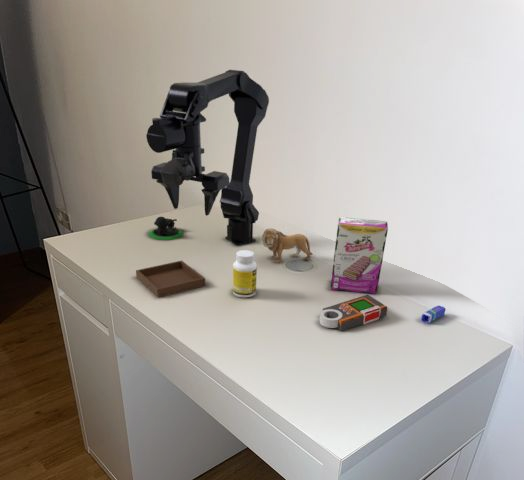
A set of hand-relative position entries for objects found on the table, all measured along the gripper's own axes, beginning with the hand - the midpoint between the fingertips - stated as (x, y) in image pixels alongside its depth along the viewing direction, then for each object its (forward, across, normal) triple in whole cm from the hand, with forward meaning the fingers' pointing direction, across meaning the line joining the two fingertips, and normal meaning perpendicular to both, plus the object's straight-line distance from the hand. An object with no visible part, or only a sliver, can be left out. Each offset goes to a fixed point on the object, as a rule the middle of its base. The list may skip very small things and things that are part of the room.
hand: (191, 211), depth 132 cm
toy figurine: (+14, -19, +13) cm, 27 cm away
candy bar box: (+14, +41, +8) cm, 44 cm away
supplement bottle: (+14, +20, -8) cm, 25 cm away
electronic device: (+14, +45, -7) cm, 48 cm away
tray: (+13, +2, -12) cm, 18 cm away
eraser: (+14, +61, +3) cm, 62 cm away
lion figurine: (+14, +19, +15) cm, 28 cm away
